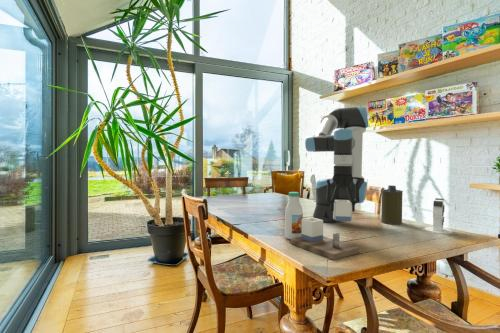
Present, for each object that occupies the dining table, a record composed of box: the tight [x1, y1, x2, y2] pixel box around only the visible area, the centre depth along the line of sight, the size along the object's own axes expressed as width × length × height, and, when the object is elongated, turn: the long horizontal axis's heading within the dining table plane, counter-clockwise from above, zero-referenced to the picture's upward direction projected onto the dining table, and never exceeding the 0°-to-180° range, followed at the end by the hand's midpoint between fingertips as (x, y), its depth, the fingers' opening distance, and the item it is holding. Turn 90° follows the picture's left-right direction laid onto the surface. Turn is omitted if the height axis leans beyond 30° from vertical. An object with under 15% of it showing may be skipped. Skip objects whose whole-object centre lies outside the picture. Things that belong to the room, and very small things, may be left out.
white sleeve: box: [335, 200, 352, 222], centre depth 122 cm, size 6×6×8 cm
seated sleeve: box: [302, 217, 324, 242], centre depth 115 cm, size 6×6×8 cm
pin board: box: [290, 232, 361, 261], centre depth 110 cm, size 22×14×7 cm, turn 33°
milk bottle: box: [284, 191, 304, 240], centre depth 124 cm, size 8×8×20 cm
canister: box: [380, 185, 404, 226], centre depth 153 cm, size 11×10×20 cm
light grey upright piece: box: [423, 197, 453, 235], centre depth 136 cm, size 12×11×15 cm
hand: (342, 218), depth 122 cm, fingers closed on white sleeve, 6 cm apart
